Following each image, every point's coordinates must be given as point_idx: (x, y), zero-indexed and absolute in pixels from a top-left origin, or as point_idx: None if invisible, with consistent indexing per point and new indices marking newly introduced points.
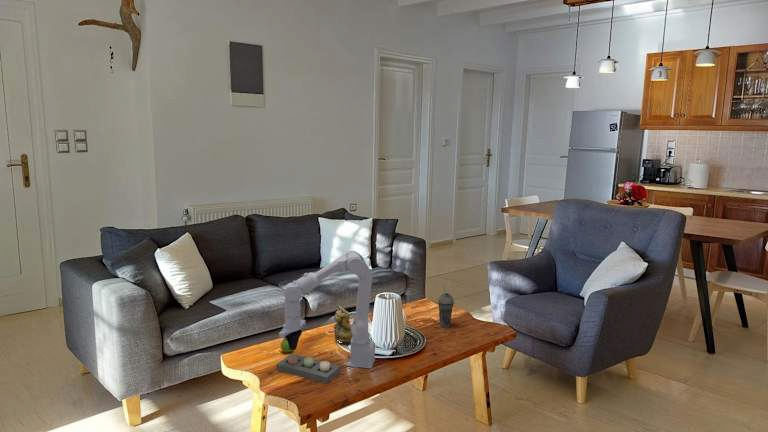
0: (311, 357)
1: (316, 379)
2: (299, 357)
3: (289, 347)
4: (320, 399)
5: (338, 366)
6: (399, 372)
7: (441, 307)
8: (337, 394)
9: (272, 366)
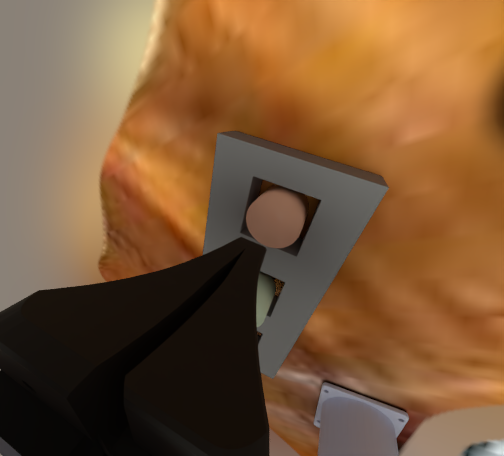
0: (263, 321)
1: None
2: (326, 245)
3: (229, 243)
4: None
5: (267, 372)
6: (305, 452)
7: None
8: None
9: (271, 82)
